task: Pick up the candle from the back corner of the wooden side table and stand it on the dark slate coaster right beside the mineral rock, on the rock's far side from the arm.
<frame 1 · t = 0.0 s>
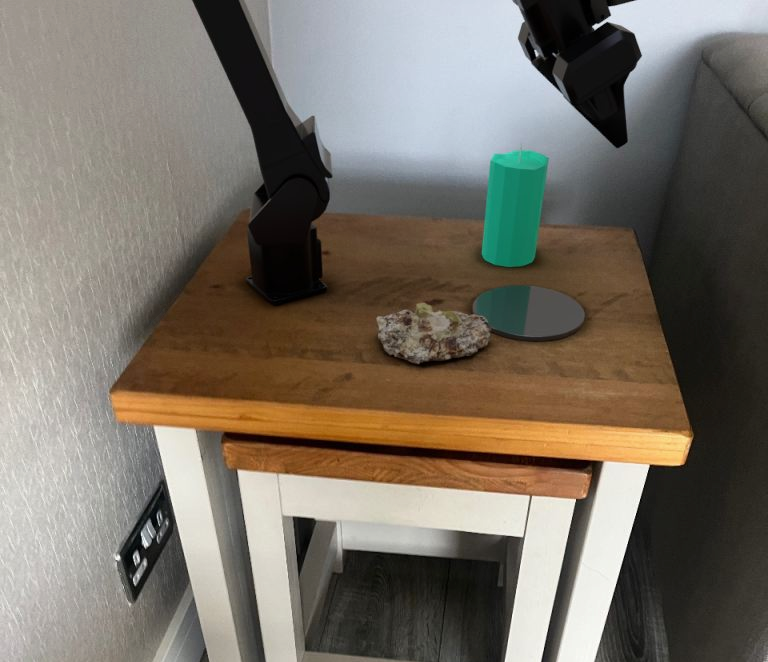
hand: (607, 130, 73), 15 cm above the table, tool tilted 35°, fingers open, 9 cm apart
slate coaster: (527, 314, 77), on the table
candle: (507, 257, 88), on the table
mineral rock: (433, 347, 72), on the table
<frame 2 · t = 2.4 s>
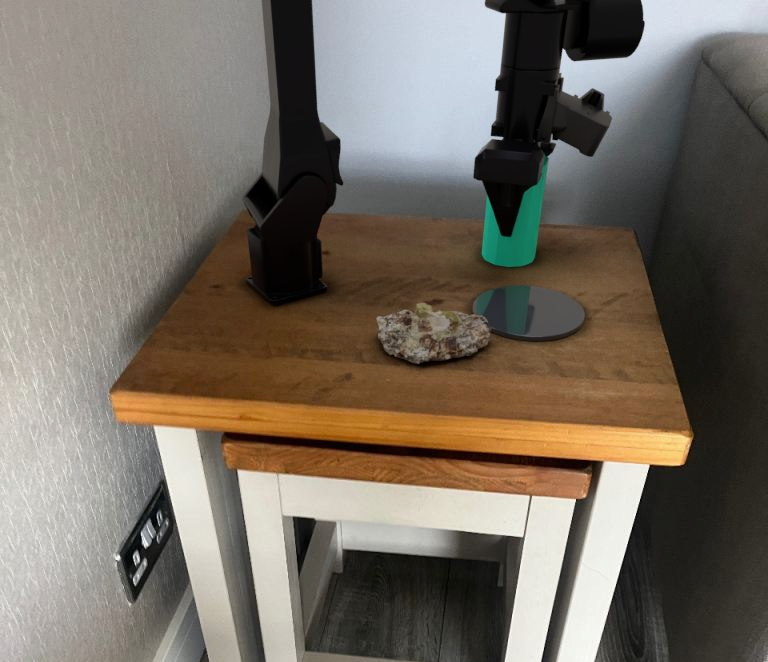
hand: (511, 225, 86), 4 cm above the table, tool pointing down, fingers closed on candle, 6 cm apart
candle: (507, 257, 88), on the table, touching gripper
everything else where it was.
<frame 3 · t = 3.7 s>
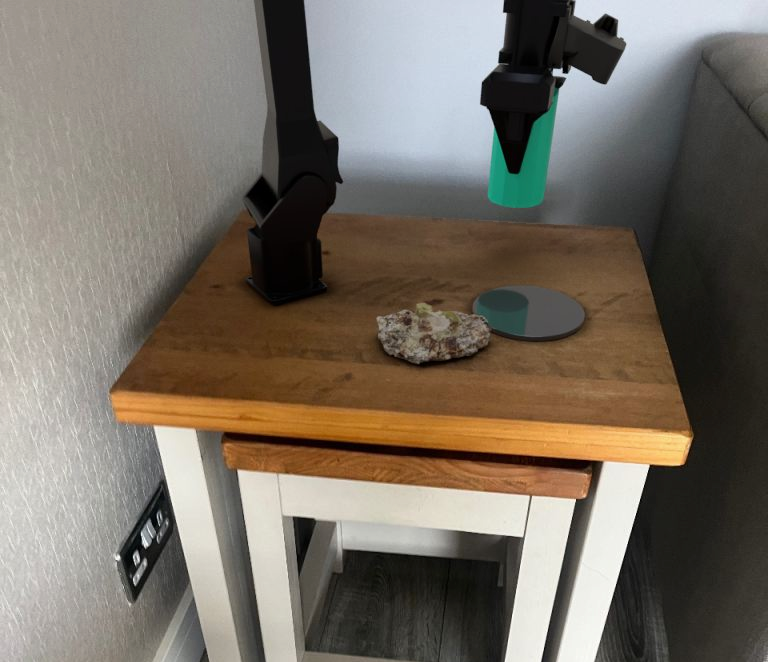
hand: (519, 163, 81), 10 cm above the table, tool pointing down, fingers closed on candle, 6 cm apart
candle: (515, 199, 84), point 6 cm above the table, touching gripper
everything else where it was.
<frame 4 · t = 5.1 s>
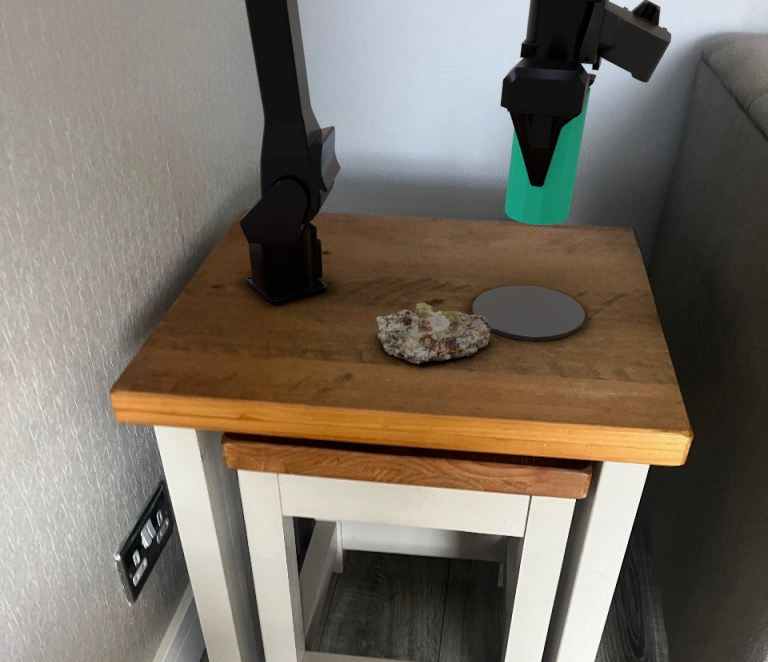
hand: (542, 174, 70), 13 cm above the table, tool pointing down, fingers closed on candle, 6 cm apart
candle: (536, 215, 73), point 9 cm above the table, touching gripper
everything else where it was.
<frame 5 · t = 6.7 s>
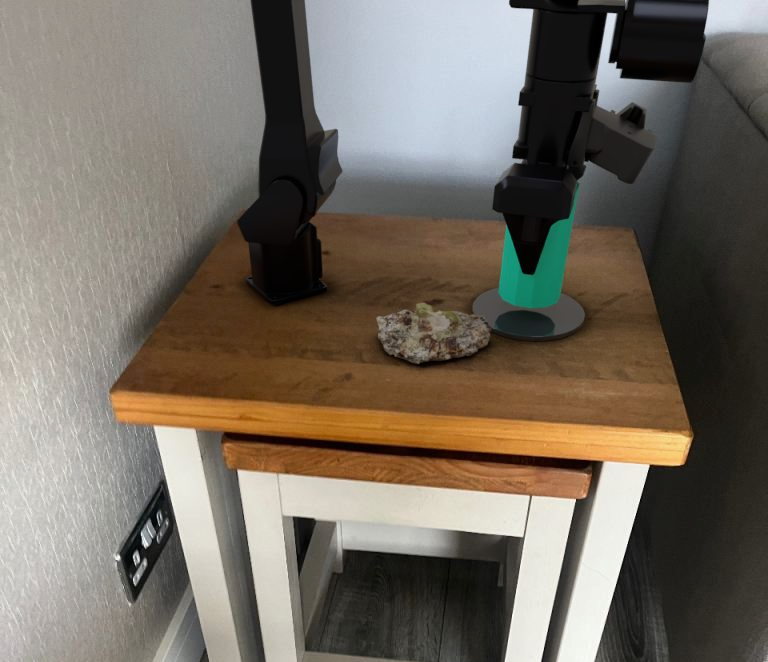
hand: (534, 259, 74), 6 cm above the table, tool pointing down, fingers closed on candle, 6 cm apart
candle: (528, 296, 76), point 2 cm above the table, touching gripper
everything else where it was.
when the fingers open (4 cm above the table, at t = 8.1 s): candle stays where it is, resting on slate coaster.
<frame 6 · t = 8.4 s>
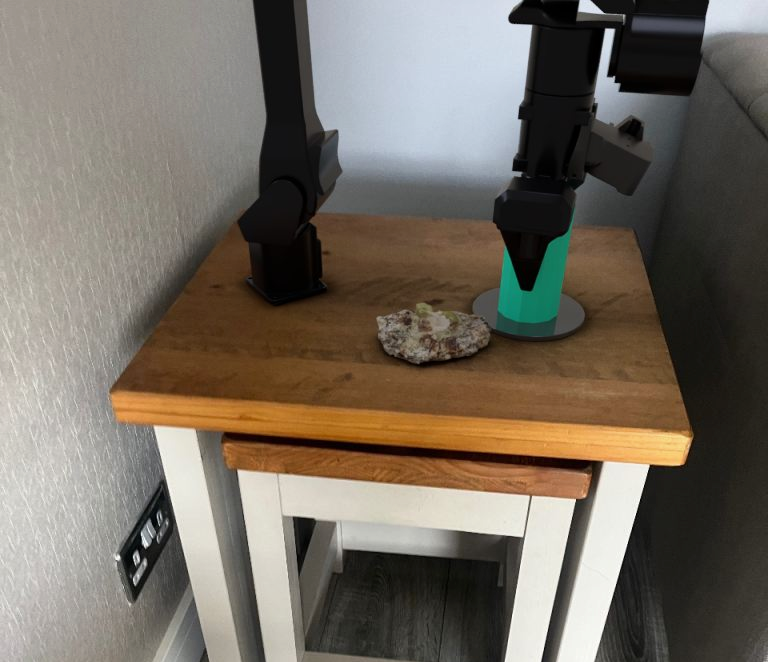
hand: (534, 270, 74), 5 cm above the table, tool pointing down, fingers open, 9 cm apart
candle: (527, 310, 77), resting on slate coaster
everything else where it was.
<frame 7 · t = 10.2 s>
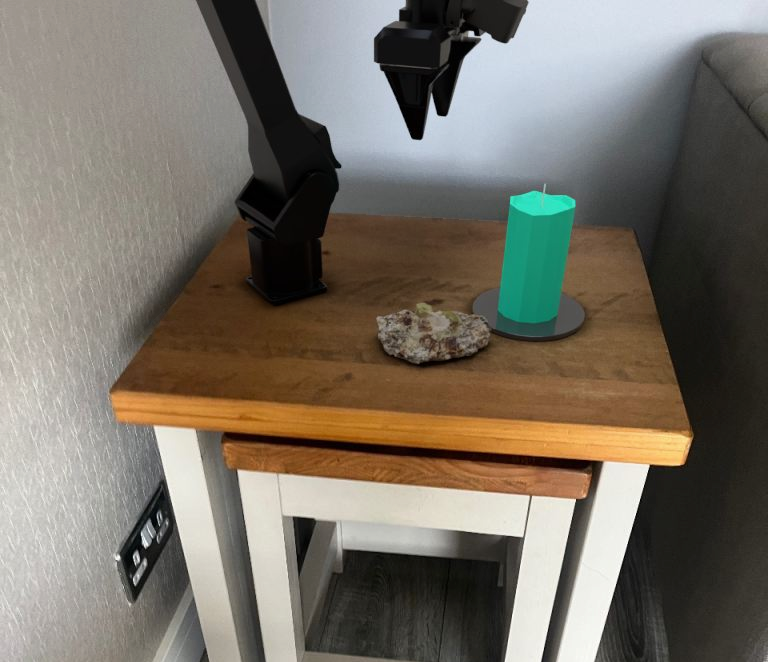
hand: (430, 127, 80), 13 cm above the table, tool pointing down, fingers open, 9 cm apart
nothing on the table moved.
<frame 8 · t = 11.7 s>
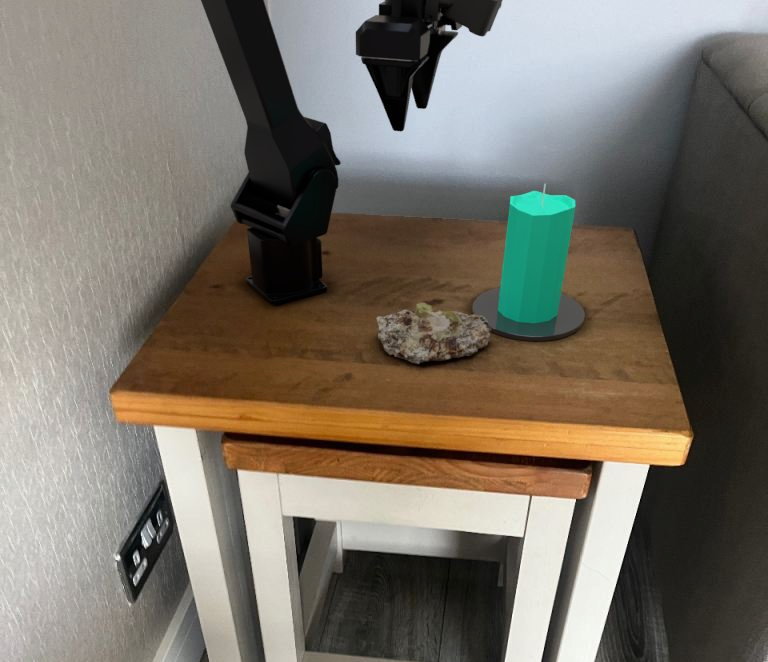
hand: (410, 119, 83), 13 cm above the table, tool pointing down, fingers open, 9 cm apart
nothing on the table moved.
at the end: candle 0.1 cm from the target spot, resting on slate coaster; candle 11.6 cm from the mineral rock (horizontally); candle tilted 0° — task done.
